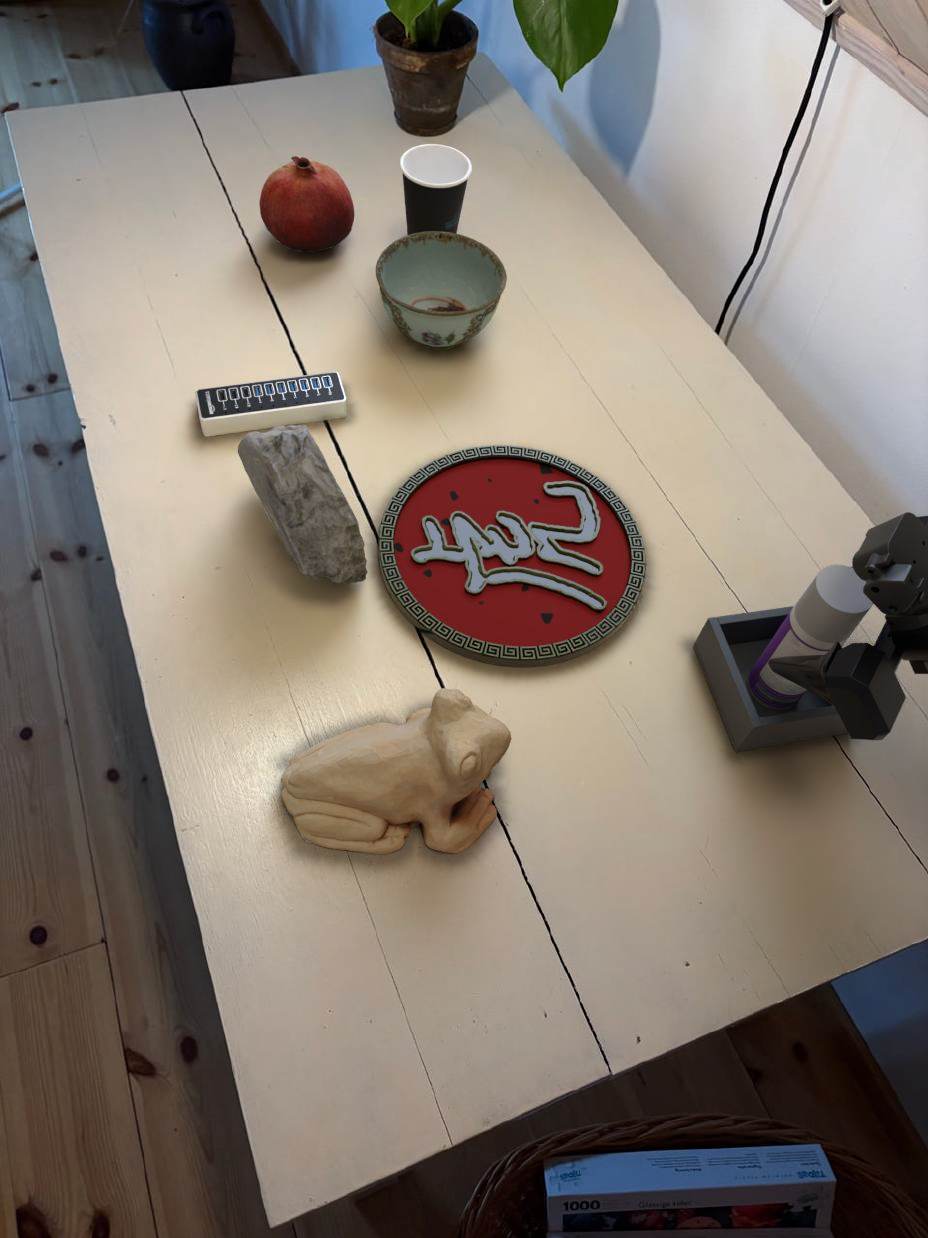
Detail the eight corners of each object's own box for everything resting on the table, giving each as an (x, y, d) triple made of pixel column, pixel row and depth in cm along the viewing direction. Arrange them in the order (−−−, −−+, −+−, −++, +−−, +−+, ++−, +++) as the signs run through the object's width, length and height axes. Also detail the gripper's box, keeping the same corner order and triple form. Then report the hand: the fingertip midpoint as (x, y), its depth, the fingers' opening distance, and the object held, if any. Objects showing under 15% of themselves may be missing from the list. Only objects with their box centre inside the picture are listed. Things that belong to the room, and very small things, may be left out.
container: (766, 654, 84) (835, 552, 71) (810, 688, 82) (889, 590, 70) (736, 685, 82) (802, 586, 69) (780, 721, 80) (855, 626, 68)
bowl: (495, 295, 109) (503, 233, 102) (501, 376, 101) (510, 316, 95) (376, 289, 108) (377, 226, 101) (373, 371, 100) (374, 309, 94)
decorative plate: (671, 654, 82) (384, 664, 79) (667, 661, 83) (384, 671, 80) (620, 443, 96) (373, 445, 93) (617, 451, 97) (373, 453, 94)
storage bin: (799, 630, 86) (820, 601, 83) (848, 733, 81) (872, 708, 77) (692, 645, 85) (708, 617, 81) (735, 752, 79) (753, 727, 75)
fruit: (251, 258, 109) (241, 176, 100) (279, 209, 114) (272, 128, 106) (340, 277, 108) (338, 197, 100) (364, 227, 114) (364, 147, 105)
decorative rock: (373, 595, 85) (373, 484, 72) (304, 622, 82) (292, 512, 70) (302, 470, 92) (291, 349, 79) (237, 491, 90) (215, 370, 77)
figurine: (510, 848, 73) (529, 798, 64) (283, 870, 70) (272, 821, 62) (488, 706, 79) (502, 644, 71) (280, 722, 77) (269, 659, 69)
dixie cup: (393, 231, 114) (395, 143, 104) (458, 229, 115) (465, 142, 106) (401, 273, 109) (404, 185, 100) (468, 271, 111) (477, 184, 102)
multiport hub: (347, 417, 96) (347, 400, 94) (203, 437, 93) (199, 420, 91) (339, 387, 99) (338, 370, 97) (197, 405, 95) (194, 388, 93)
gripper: (1006, 442, 65) (799, 475, 77) (921, 624, 56) (700, 630, 68) (1050, 566, 70) (847, 579, 82) (977, 753, 60) (761, 737, 72)
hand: (793, 625), depth 76 cm, fingers open, 9 cm apart
